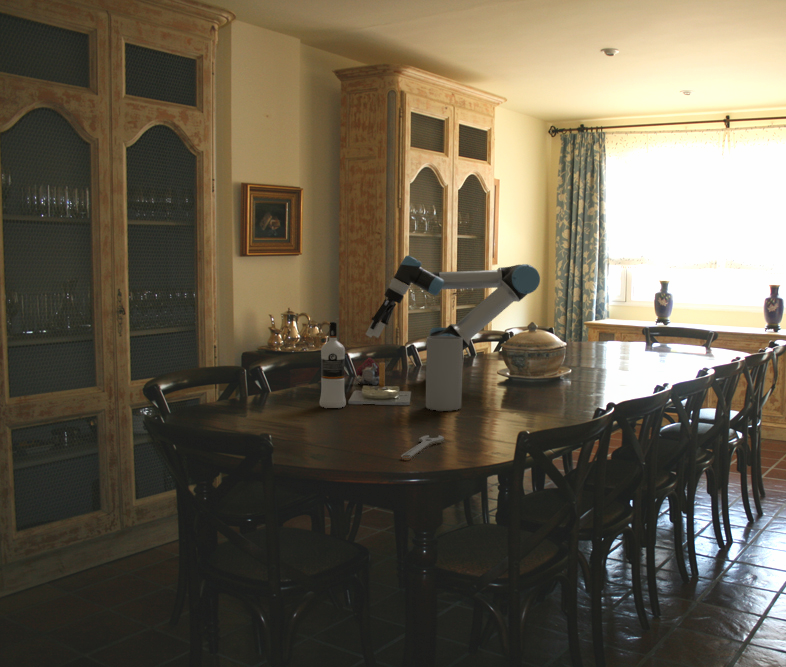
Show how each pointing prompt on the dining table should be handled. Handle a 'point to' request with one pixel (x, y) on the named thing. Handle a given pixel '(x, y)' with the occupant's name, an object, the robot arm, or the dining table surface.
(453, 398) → the cylinder vase
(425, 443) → the adjustable wrench
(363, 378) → the brake caliper
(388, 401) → the base plate
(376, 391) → the cream rounded piece
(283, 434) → the dining table surface
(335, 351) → the vodka
